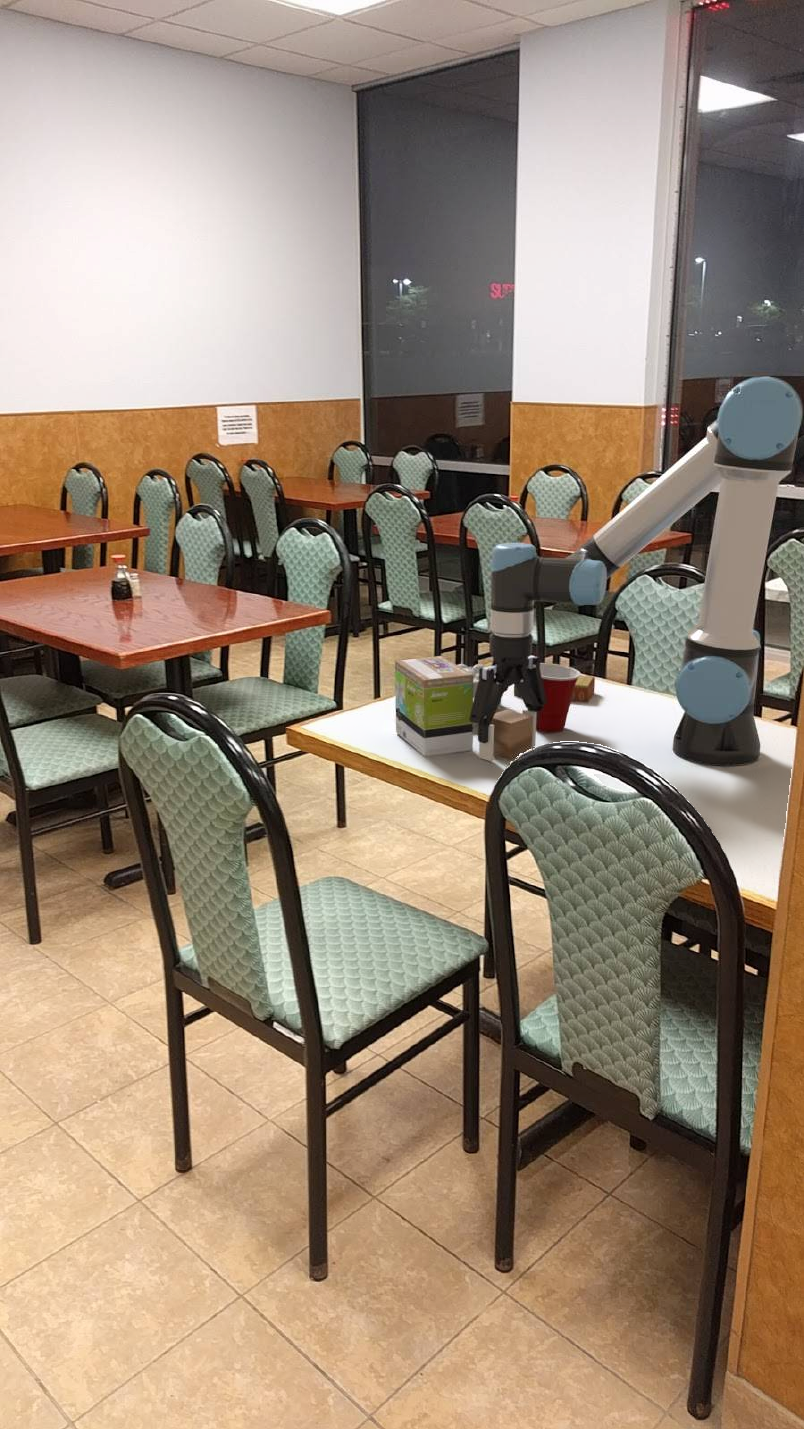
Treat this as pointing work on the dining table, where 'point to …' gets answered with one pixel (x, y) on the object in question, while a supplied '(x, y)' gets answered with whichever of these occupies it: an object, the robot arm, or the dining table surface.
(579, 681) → the carton
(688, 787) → the dining table surface
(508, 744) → the brown box
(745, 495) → the robot arm
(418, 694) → the tea box
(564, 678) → the plastic cup
